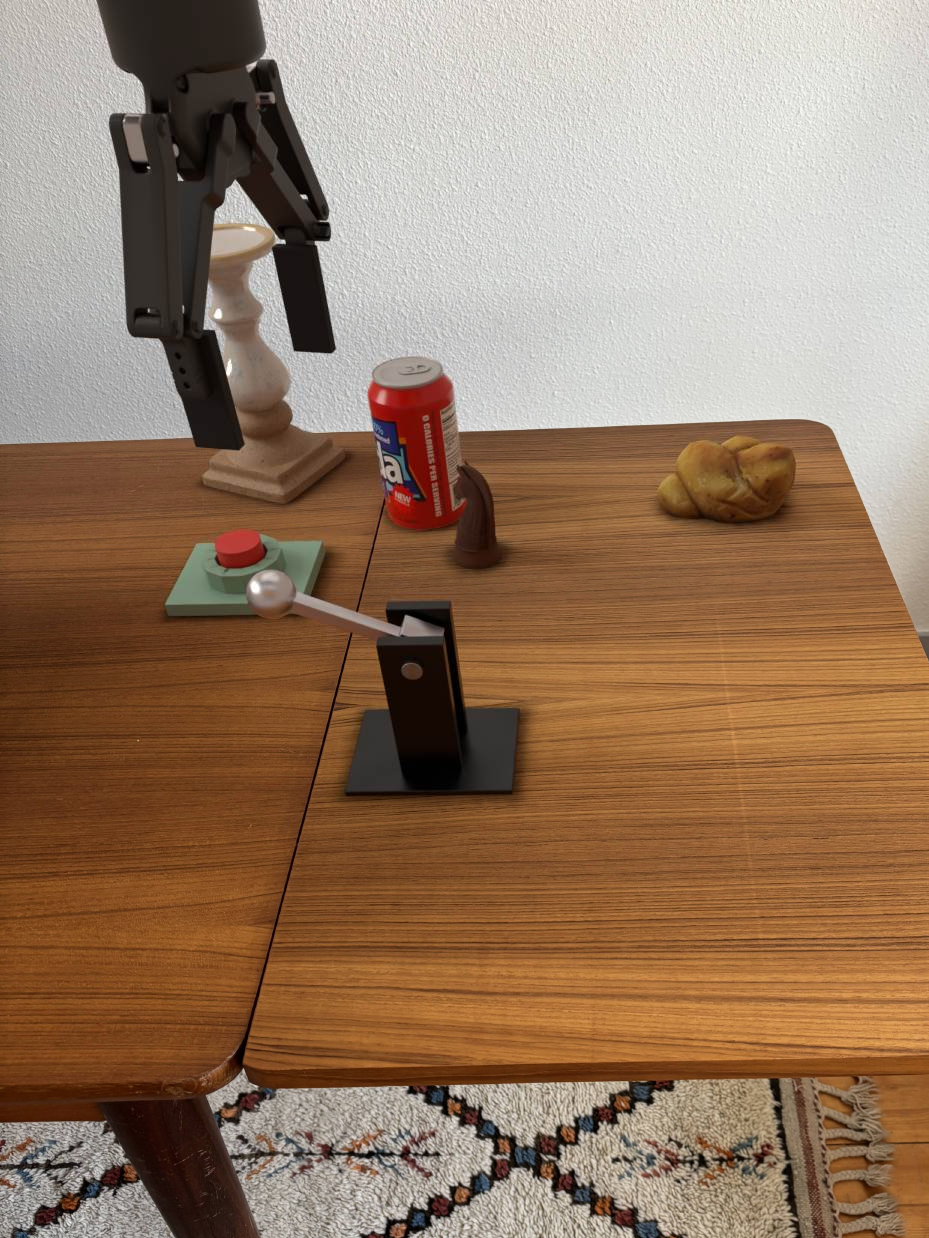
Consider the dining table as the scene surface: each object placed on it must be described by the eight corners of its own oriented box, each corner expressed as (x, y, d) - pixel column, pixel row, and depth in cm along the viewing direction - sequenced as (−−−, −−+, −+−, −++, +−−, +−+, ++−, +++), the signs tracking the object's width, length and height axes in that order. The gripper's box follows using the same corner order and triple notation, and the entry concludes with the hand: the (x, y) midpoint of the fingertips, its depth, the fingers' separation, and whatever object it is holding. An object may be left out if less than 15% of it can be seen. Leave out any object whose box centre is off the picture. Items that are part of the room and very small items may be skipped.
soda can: (474, 529, 102) (457, 380, 92) (394, 543, 101) (369, 393, 91) (460, 491, 108) (443, 347, 98) (384, 503, 107) (359, 358, 97)
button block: (171, 625, 93) (157, 587, 90) (203, 562, 100) (191, 526, 97) (305, 622, 92) (295, 584, 90) (327, 560, 100) (318, 523, 97)
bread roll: (656, 534, 101) (658, 457, 95) (656, 483, 108) (657, 409, 102) (792, 533, 100) (802, 456, 94) (783, 483, 107) (791, 407, 101)
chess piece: (480, 544, 100) (469, 447, 94) (516, 564, 98) (508, 465, 91) (443, 564, 98) (430, 467, 91) (480, 585, 95) (469, 485, 89)
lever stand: (347, 805, 76) (311, 665, 67) (367, 722, 82) (337, 585, 73) (513, 804, 75) (499, 662, 66) (520, 720, 82) (508, 582, 73)
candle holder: (268, 446, 117) (210, 215, 101) (349, 463, 114) (303, 227, 97) (203, 491, 110) (130, 251, 94) (287, 512, 106) (226, 265, 90)
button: (214, 570, 92) (208, 553, 91) (226, 546, 95) (221, 529, 94) (259, 569, 92) (254, 552, 91) (269, 545, 95) (265, 528, 94)
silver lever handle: (236, 619, 68) (245, 580, 66) (248, 590, 70) (258, 553, 68) (427, 682, 71) (442, 647, 69) (433, 653, 74) (447, 619, 72)
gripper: (98, 11, 41) (235, 501, 55) (342, -67, 58) (397, 320, 73) (-68, 12, 42) (108, 489, 57) (219, -64, 60) (297, 314, 74)
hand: (271, 395), depth 65 cm, fingers open, 13 cm apart
